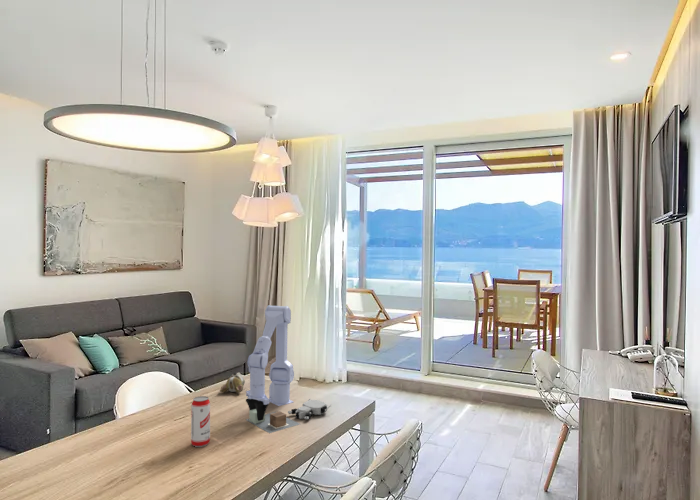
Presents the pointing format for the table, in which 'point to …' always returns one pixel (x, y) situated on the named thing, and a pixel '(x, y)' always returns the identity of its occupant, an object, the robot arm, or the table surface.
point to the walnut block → (277, 419)
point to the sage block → (254, 416)
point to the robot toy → (310, 409)
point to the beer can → (200, 421)
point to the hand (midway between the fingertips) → (257, 418)
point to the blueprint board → (269, 428)
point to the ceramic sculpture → (234, 383)
